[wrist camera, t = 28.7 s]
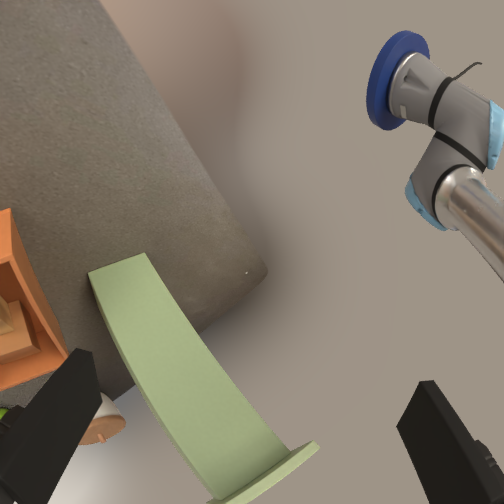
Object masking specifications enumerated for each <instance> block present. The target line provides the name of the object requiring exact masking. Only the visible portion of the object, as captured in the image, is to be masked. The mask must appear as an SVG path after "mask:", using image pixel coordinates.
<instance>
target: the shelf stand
mask: <svg viewBox="0 0 504 504" xmlns="http://www.w3.org/2000/svg"><path fill="white" fill-rule="evenodd" d="M88 276H89V279H90V283H91V286H92V289H93V293H94V296H95V299H96V302H97V305H98V308H99V310H100V312H101V315H102V317H103V319H104V322H105V324H106V326H107V328H108V330H109V333H110V335H111V337H112V339H113V341H114V343H115V345H116V347H117V349H118V351H119V353H120V355H121V357H122V359H123V361H124V363H125V365H126V367H127V369H128V371H129V373H130V374H131V376H132V378H133V380H134V382H135V384H136V385H137V387H138V389H139V391H140V392H141V394H142V396H143V398H144V399H145V401H146V403H147V404H148V406H149V408H150V409H151V411H152V413H153V414H154V416H155V418H156V419H157V421H158V422H159V424H160V425H161V427H162V429H163V430H164V432H165V433H166V434H167V436H168V438H169V439H170V441H171V442H172V444H173V445H174V446H175V448H176V449H177V451H178V452H179V454H180V455H181V456H182V458H183V459H184V461H185V462H186V463H187V464H188V466H189V467H190V469H191V470H192V471H193V472H194V474H195V475H196V477H197V478H198V479H199V480H200V482H201V483H202V484H203V486H204V487H205V488H206V489H207V491H208V492H209V493H210V494H211V495H212V497H213V499H212V500H210V501H208V502H207V504H247V503H248V502H250V501H251V500H253V499H254V498H256V497H257V496H259V495H260V494H262V493H263V492H265V491H266V490H267V489H269V488H270V487H272V486H273V485H274V484H276V483H277V482H279V481H280V480H281V479H283V478H284V477H285V476H287V475H288V474H289V473H290V472H292V471H293V470H294V469H295V468H297V467H298V466H299V465H300V464H302V463H303V462H304V461H306V460H307V459H308V458H309V457H310V456H312V455H313V454H314V453H315V452H316V451H317V450H319V449H320V447H319V446H318V444H317V443H316V442H315V441H314V440H312V441H310V442H309V443H306V444H304V445H302V446H301V447H298V448H297V449H294V450H292V451H289V449H288V448H287V447H286V446H285V445H284V444H283V443H282V442H281V440H280V439H279V438H278V437H277V436H276V435H275V434H274V432H273V431H272V430H271V429H270V428H269V427H268V425H267V424H266V423H265V422H264V420H263V419H262V418H261V417H260V416H259V414H258V413H257V412H256V411H255V410H254V408H253V407H252V406H251V405H250V403H249V402H248V401H247V400H246V398H245V397H244V396H243V395H242V393H241V392H240V391H239V390H238V388H237V387H236V386H235V384H234V383H233V382H232V381H231V379H230V378H229V376H228V375H227V374H226V372H225V371H224V370H223V368H222V367H221V366H220V364H219V363H218V362H217V360H216V359H215V358H214V357H213V355H212V354H211V352H210V351H209V349H208V348H207V347H206V345H205V344H204V342H203V341H202V340H201V338H200V337H199V335H198V334H197V333H196V331H195V330H194V328H193V327H192V325H191V324H190V322H189V321H188V319H187V318H186V317H185V315H184V314H183V312H182V311H181V309H180V308H179V306H178V305H177V303H176V302H175V300H174V299H173V297H172V296H171V294H170V292H169V291H168V289H167V288H166V286H165V285H164V283H163V282H162V280H161V278H160V277H159V275H158V274H157V272H156V270H155V269H154V267H153V266H152V264H151V262H150V261H149V259H148V257H147V256H146V254H145V253H141V254H139V255H136V256H133V257H130V258H127V259H124V260H122V261H119V262H116V263H113V264H110V265H108V266H105V267H102V268H99V269H97V270H94V271H91V272H88Z"/></svg>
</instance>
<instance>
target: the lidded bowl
mask: <svg viewBox="0 0 504 504" xmlns="http://www.w3.org/2000/svg"><path fill="white" fill-rule="evenodd" d="M100 393H101V397H102V401H103V402H102V404H101V406H100V408H99V409H98V411H97V413H96V414H95V416H94V418H93V420H92V421H91V423H90V425H89V427H88V428H87V430H86V432H85V434H84V436H83V437H82V439H81V441H80V443H79V445H88V444H93V443H97V442H101V443H104V442H106V439H108V438H110V437H112V436H114V435H116V434H117V433H119V432H120V431H121V430H122V429H123V428H124V427H125V425H126V421H125V420H124V418H123V417H122V416H121V414H120V412H119V410H118V409H117V407H116V405H115V404H114V403H113V401H112V400H111V399H110V398H109V397H108V396H106V395H105V394H104V393H102V392H100Z"/></svg>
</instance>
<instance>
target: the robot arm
mask: <svg viewBox="0 0 504 504" xmlns="http://www.w3.org/2000/svg"><path fill="white" fill-rule="evenodd" d="M477 64H482V63H480V62H476V63H473V64H472V65H470V66H469V67H468V68H466V69H465V70H464V71H463V72H461V73H460V74H459V75H457V76H456V77H454V78H451V77H449V76H448V75H446V74H445V73H444V72H443V71H442V70H441V69H440V68H438V67H437V66H436V65H435V64H434V63H433V62H431V61H430V60H429V59H428V58H427V57H426V56H424V55H422V54H421V53H418V52H416V51H409V52H407V53H406V54H404V55H403V56H402V57H401V58H400V60H399V61H398V62H397V64H396V65H395V67H394V69H393V71H392V74H391V76H390V79H389V82H388V87H387V92H386V105H387V109H388V111H389V112H390V113H391V114H392V115H394V116H396V117H398V118H400V119H406V120H410V121H414V122H417V123H422V124H425V125H428V126H429V127H431V128H433V129H434V130H436V133H435V135H434V136H433V138H432V140H431V142H430V144H429V146H428V148H427V149H426V151H425V153H424V155H423V156H422V158H421V160H420V161H419V163H418V165H417V167H416V168H415V170H414V172H413V173H412V174H411V175H410V180H409V181H408V183H407V185H406V187H405V195H406V198H407V199H408V201H409V203H410V204H411V205H412V206H413V208H414V209H415V210H416V211H417V212H419V213H420V214H421V216H422V217H423V218H424V219H425V220H426V221H428V222H429V223H430V224H431V225H433V226H434V227H436V228H437V229H440V230H442V231H446V230H448V229H450V230H460V231H461V233H462V234H463V235H464V236H465V237H466V238H467V239H468V240H469V241H470V243H471V244H472V245H473V246H474V247H475V248H476V249H477V251H478V252H479V253H480V254H481V255H482V256H483V258H484V259H485V260H486V261H487V262H488V263H489V265H490V266H491V267H492V269H493V270H494V271H495V272H496V273H497V275H498V276H499V277H500V278H501V280H502V281H503V283H504V200H503V199H502V198H500V197H499V196H498V195H496V194H495V193H494V192H492V191H491V190H490V189H488V188H487V184H486V181H485V179H484V177H483V175H482V174H483V172H484V170H485V168H486V167H487V168H488V169H491V170H493V169H494V168H495V165H496V163H497V160H498V158H499V155H500V152H501V149H502V146H503V143H504V110H503V109H501V108H500V107H499V106H497V105H496V104H495V103H493V101H492V100H489V99H488V98H486V97H484V96H483V95H481V94H479V93H478V92H476V91H474V90H473V89H471V88H469V87H468V86H466V85H464V84H462V83H461V82H459V81H457V80H456V79H457V78H459V77H460V76H462V75H463V74H464V73H466V72H467V71H468V70H469V69H470V68H472V67H473V66H475V65H477ZM102 402H103V401H102V397H101V393H100V388H99V384H98V380H97V375H96V370H95V365H94V360H93V355H92V352H89V351H86V350H82V349H78V348H76V349H75V350H74V351H73V352H72V353H71V354H70V355H69V356H68V358H67V359H66V360H65V361H64V362H63V363H62V364H61V366H60V367H59V368H58V369H57V370H56V371H55V373H54V374H53V375H52V376H51V377H50V379H49V380H48V381H47V382H46V383H45V384H44V386H43V387H42V388H41V389H40V390H39V392H38V393H37V394H36V395H35V397H34V398H33V399H32V400H31V401H30V403H29V404H28V405H27V406H26V408H23V407H21V406H19V405H17V406H15V407H13V408H12V409H10V410H8V411H7V412H6V413H5V414H4V415H3V417H2V418H1V419H0V504H13V503H14V501H16V502H17V503H18V504H47V503H48V501H49V499H50V497H51V495H52V493H53V491H54V490H55V488H56V486H57V484H58V482H59V480H60V478H61V476H62V474H63V472H64V470H65V469H66V467H67V465H68V463H69V461H70V459H71V457H72V455H73V454H74V452H75V450H76V448H77V446H78V445H79V443H80V441H81V439H82V437H83V436H84V434H85V432H86V430H87V428H88V427H89V425H90V423H91V421H92V420H93V418H94V416H95V414H96V413H97V411H98V409H99V408H100V406H101V404H102ZM396 427H397V429H398V431H399V433H400V436H401V438H402V440H403V442H404V444H405V447H406V449H407V451H408V454H409V455H410V458H411V460H412V463H413V465H414V467H415V470H416V472H417V474H418V477H419V479H420V481H421V484H422V486H423V488H424V491H425V494H426V496H427V499H428V501H429V504H504V474H503V472H502V471H501V469H500V468H499V466H498V465H497V464H496V463H497V462H496V461H495V459H494V458H492V454H491V453H490V451H489V450H488V448H487V447H486V446H485V445H484V444H482V443H481V442H480V441H479V440H476V441H474V439H473V438H472V436H471V435H470V433H469V432H468V430H467V429H466V427H465V426H464V424H463V422H462V421H461V419H460V418H459V416H458V415H457V414H456V412H455V410H454V409H453V408H452V407H451V405H450V403H449V402H448V401H447V399H446V397H445V396H444V394H443V393H442V392H441V390H440V389H439V387H438V386H437V385H436V383H435V382H434V380H431V381H420V382H419V384H418V386H417V388H416V390H415V392H414V394H413V396H412V398H411V400H410V402H409V404H408V406H407V408H406V410H405V412H404V413H403V415H402V417H401V419H400V421H399V422H398V424H397V426H396Z"/></svg>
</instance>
